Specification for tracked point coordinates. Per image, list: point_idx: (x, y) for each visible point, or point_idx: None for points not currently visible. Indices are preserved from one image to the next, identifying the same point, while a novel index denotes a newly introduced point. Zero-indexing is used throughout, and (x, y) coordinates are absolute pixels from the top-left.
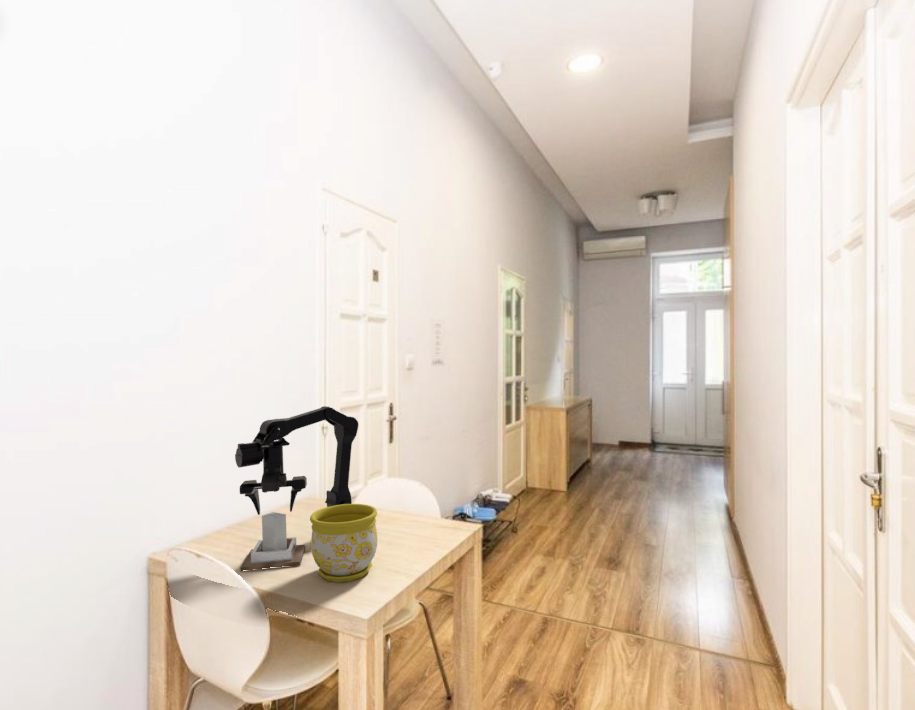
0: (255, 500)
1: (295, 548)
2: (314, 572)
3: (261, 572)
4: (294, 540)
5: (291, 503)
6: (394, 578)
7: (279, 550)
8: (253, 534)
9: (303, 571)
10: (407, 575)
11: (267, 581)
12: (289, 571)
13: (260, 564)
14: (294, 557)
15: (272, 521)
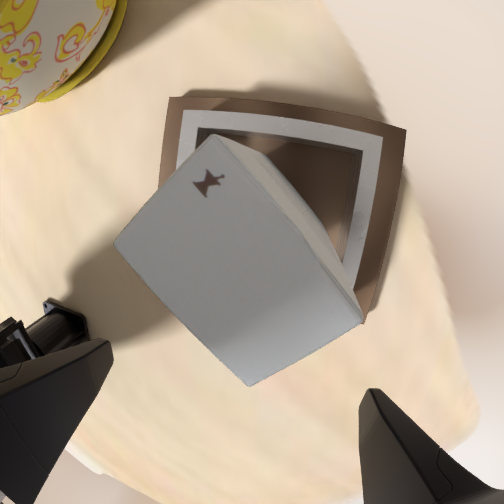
0: (445, 487)
1: None
2: (139, 40)
3: (321, 87)
4: None
5: (48, 363)
6: None
7: (240, 121)
8: (330, 451)
9: (169, 51)
10: None
11: (291, 8)
12: (215, 61)
13: (330, 121)
14: None
15: (251, 163)
